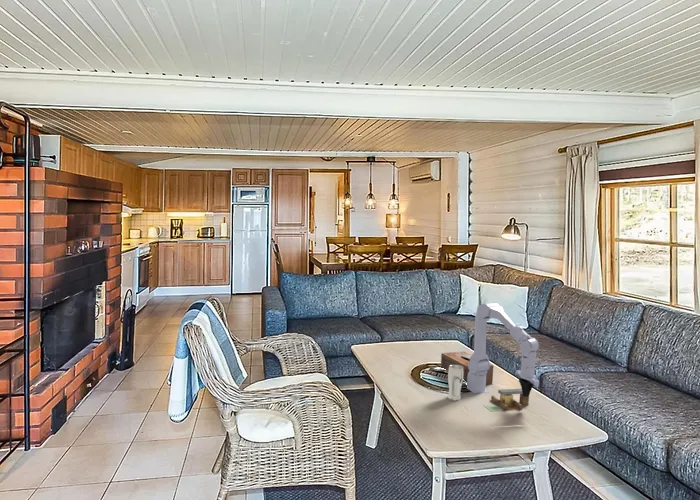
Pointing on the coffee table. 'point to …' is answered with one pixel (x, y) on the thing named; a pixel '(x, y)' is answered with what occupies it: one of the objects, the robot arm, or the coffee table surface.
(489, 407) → the pad
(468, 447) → the coffee table surface
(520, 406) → the body
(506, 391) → the lever
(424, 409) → the coffee table surface
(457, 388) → the beer glass
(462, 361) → the tissue box cover
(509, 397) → the tan cube
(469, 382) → the robot arm
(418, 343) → the coffee table surface
